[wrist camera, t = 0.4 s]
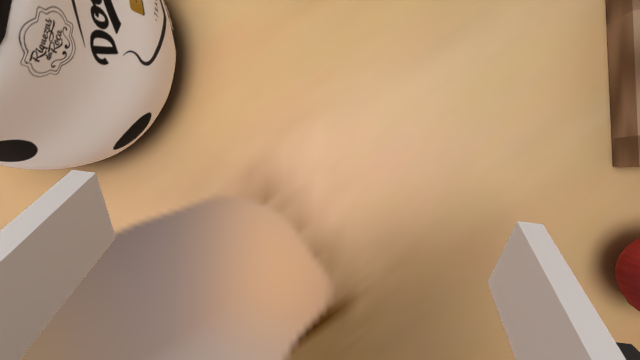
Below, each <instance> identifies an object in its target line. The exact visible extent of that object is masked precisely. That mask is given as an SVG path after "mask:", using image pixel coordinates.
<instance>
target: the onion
mask: <svg viewBox="0 0 640 360" xmlns="http://www.w3.org/2000/svg"><path fill="white" fill-rule="evenodd" d="M615 275H616V281H617V285H618V287H619V289H620V291H621V292H622V294H623V295H624V297H625V298H626V300H627V301H628V303H629V304H631V305H632V306H633V307H634V308H636V309H637V310H638V311H640V238H638V239H636V240H635V241H633V242H631V243H630V244H628V245H627V246H626V247H625V249H624V250H623V251H622V252H621V254H620V255H619V256H618V259H617V263H616V267H615Z"/></svg>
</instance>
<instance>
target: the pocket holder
mask: <svg viewBox="0 0 640 360" xmlns="http://www.w3.org/2000/svg"><path fill="white" fill-rule="evenodd" d="M606 17H607V40H608V63H609V86H610V108H611V131H612V154H613V167H632V166H640V0H606Z"/></svg>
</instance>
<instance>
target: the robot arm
mask: <svg viewBox="0 0 640 360" xmlns="http://www.w3.org/2000/svg"><path fill="white" fill-rule="evenodd" d="M115 238H116V237H115V234H114V230H113V227H112V224H111V221H110V217H109V214H108V211H107V208H106V204H105V201H104V198H103V195H102V191H101V188H100V185H99V182H98V178H97V175H96V173H94V172H85V171H77V170H71V171H70V172H69V173H68V174H67V175H65V176H64V177H63V178H62V179H61V180H60V181H58V182H57V183H56V184H55V185H54V186H52V187H51V188H50V189H49V190H48V191H47V192H45V193H44V194H43V195H42V196H41V197H39V198H38V199H37V200H36V201H35V202H34V203H32V204H31V205H30V206H29V207H28V208H26V209H25V210H24V211H23V212H22V213H21V214H19V215H18V216H17V217H16V218H15V219H13V220H12V221H11V222H10V223H9V224H8V225H6V226H5V227H4V228H3V229H2V230H1V231H0V360H20V359H21V358H22V356H23V355H24V354H25V353H26V351H27V350H28V349H29V348H30V346H31V345H32V344H33V342H34V341H35V340H36V338H37V337H38V336H39V335H40V333H41V332H42V331H43V330H44V328H45V327H46V326H47V325H48V323H49V322H50V321H51V319H52V318H53V317H54V316H55V314H56V313H57V312H58V310H59V309H60V308H61V307H62V305H63V304H64V303H65V302H66V300H67V299H68V298H69V296H70V295H71V294H72V293H73V291H74V290H75V289H76V288H77V286H78V285H79V284H80V282H81V281H82V279H84V277H85V276H86V275H87V273H88V272H89V271H90V270H91V268H92V267H93V266H94V264H95V263H96V262H97V261H98V259H99V258H100V256H102V254H103V253H104V252H105V250H106V249H107V248H108V247H109V245H110V244H111V243H112V242H113V240H114V239H115ZM488 285H489V288H490V290H491V293H492V296H493V299H494V301H495V304H496V307H497V310H498V313H499V315H500V318H501V321H502V324H503V326H504V329H505V332H506V335H507V338H508V340H509V343H510V346H511V349H512V351H513V354H514V357H515V360H640V352H639V351H638V350H637V349H636V348H635V347H634V346H633V345H632V344H625V343H617V342H615V341H614V339H613V338H612V336H611V334H610V333H609V331H608V329H607V328H606V326H605V325H604V323H603V321H602V320H601V318H600V316H599V315H598V313H597V312H596V310H595V308H594V307H593V305H592V303H591V302H590V300H589V299H588V297H587V295H586V294H585V292H584V290H583V289H582V287H581V286H580V284H579V282H578V281H577V279H576V277H575V276H574V274H573V273H572V271H571V269H570V268H569V266H568V265H567V263H566V261H565V260H564V258H563V256H562V255H561V253H560V252H559V250H558V248H557V247H556V245H555V243H554V242H553V240H552V239H551V237H550V235H549V234H548V232H547V230H546V229H545V227H544V226H543V224H538V223H529V222H520V221H517V223H516V225H515V227H514V229H513V231H512V233H511V235H510V237H509V239H508V241H507V243H506V245H505V247H504V249H503V251H502V253H501V255H500V257H499V259H498V261H497V263H496V266H495V268H494V270H493V272H492V274H491V276H490V278H489V280H488Z"/></svg>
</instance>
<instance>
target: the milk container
mask: <svg viewBox="0 0 640 360" xmlns="http://www.w3.org/2000/svg"><path fill="white" fill-rule="evenodd" d="M175 64H176V46H175V36H174V29H173V25H172V21H171V17H170V14H169V11H168V9H167V6H166V4H165V2H164V0H0V165H3V166H8V167H13V168H22V169H31V170H54V169H65V168H71V167H77V166H82V165H86V164H90V163H94V162H97V161H100V160H103V159H106V158H109V157H111V156H113V155H115V154H117V153H119V152H121V151H122V150H124V149H126V148H127V147H129V146H130V145H131V144H133V143H134V142H135V141H136V140H137V139H139V138H140V137H141V136H142V135H143V134H144V133H145V132H146V131H147V130H148V129H149V127H150V126H151V125H152V123H153V122H154V121H155V119H156V117H157V116H158V114H159V113H160V111H161V109H162V108H163V106H164V104H165V102H166V100H167V98H168V95H169V92H170V89H171V85H172V80H173V75H174V71H175Z"/></svg>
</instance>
